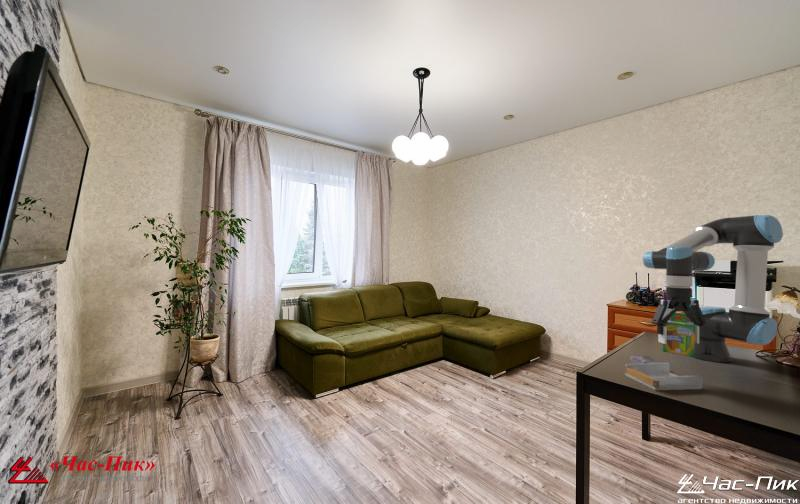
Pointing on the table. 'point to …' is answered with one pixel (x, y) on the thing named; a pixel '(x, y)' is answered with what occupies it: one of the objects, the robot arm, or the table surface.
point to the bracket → (661, 377)
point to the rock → (642, 359)
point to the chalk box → (680, 336)
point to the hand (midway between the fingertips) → (678, 342)
